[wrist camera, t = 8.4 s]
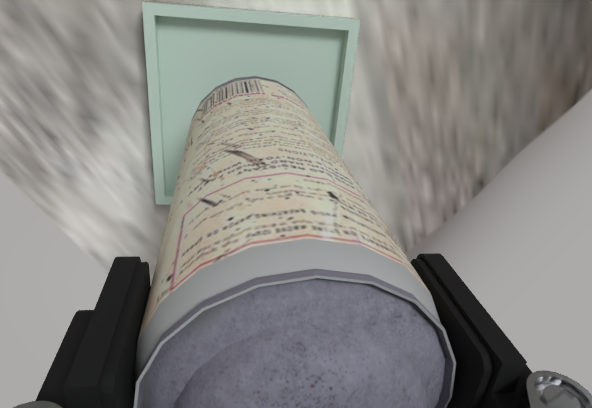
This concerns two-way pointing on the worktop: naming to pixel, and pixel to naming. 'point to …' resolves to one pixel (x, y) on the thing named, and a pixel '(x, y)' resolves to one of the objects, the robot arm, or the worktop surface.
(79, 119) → the worktop surface
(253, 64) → the tray
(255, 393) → the aerosol can
